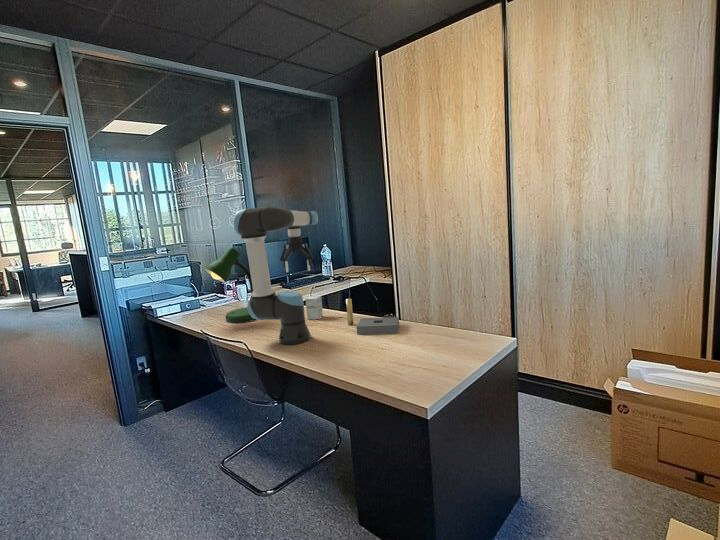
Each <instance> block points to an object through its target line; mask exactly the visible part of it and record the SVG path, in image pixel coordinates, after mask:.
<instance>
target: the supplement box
mask: <svg viewBox="0 0 720 540" xmlns="http://www.w3.org/2000/svg"><path fill="white" fill-rule="evenodd" d="M322 301H323V299H322V295H310V296H308V297H306V298H305V309H306V311H305V312H306V319H308V320H316V319H319V318H320V317H321V318H323V317H324V311H323V303H322ZM322 316H323V317H322ZM321 318H320V319H321ZM320 319H319V320H320Z"/></svg>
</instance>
